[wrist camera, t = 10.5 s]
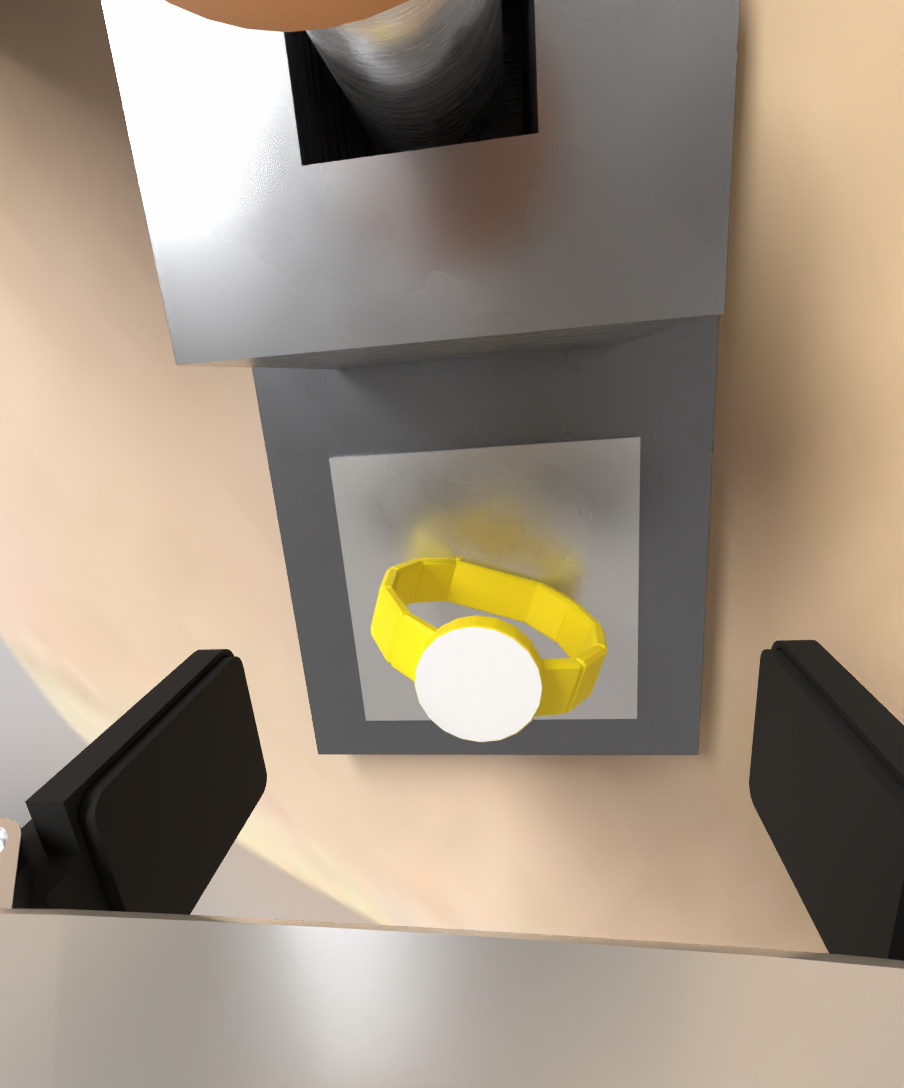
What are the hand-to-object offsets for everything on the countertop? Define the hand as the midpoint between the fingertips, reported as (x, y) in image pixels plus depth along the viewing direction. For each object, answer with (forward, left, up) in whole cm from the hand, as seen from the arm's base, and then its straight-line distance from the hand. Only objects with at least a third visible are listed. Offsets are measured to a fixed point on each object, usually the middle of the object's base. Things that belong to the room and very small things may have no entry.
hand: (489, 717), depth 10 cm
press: (0, -4, -9) cm, 10 cm away
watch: (0, 0, -8) cm, 8 cm away
